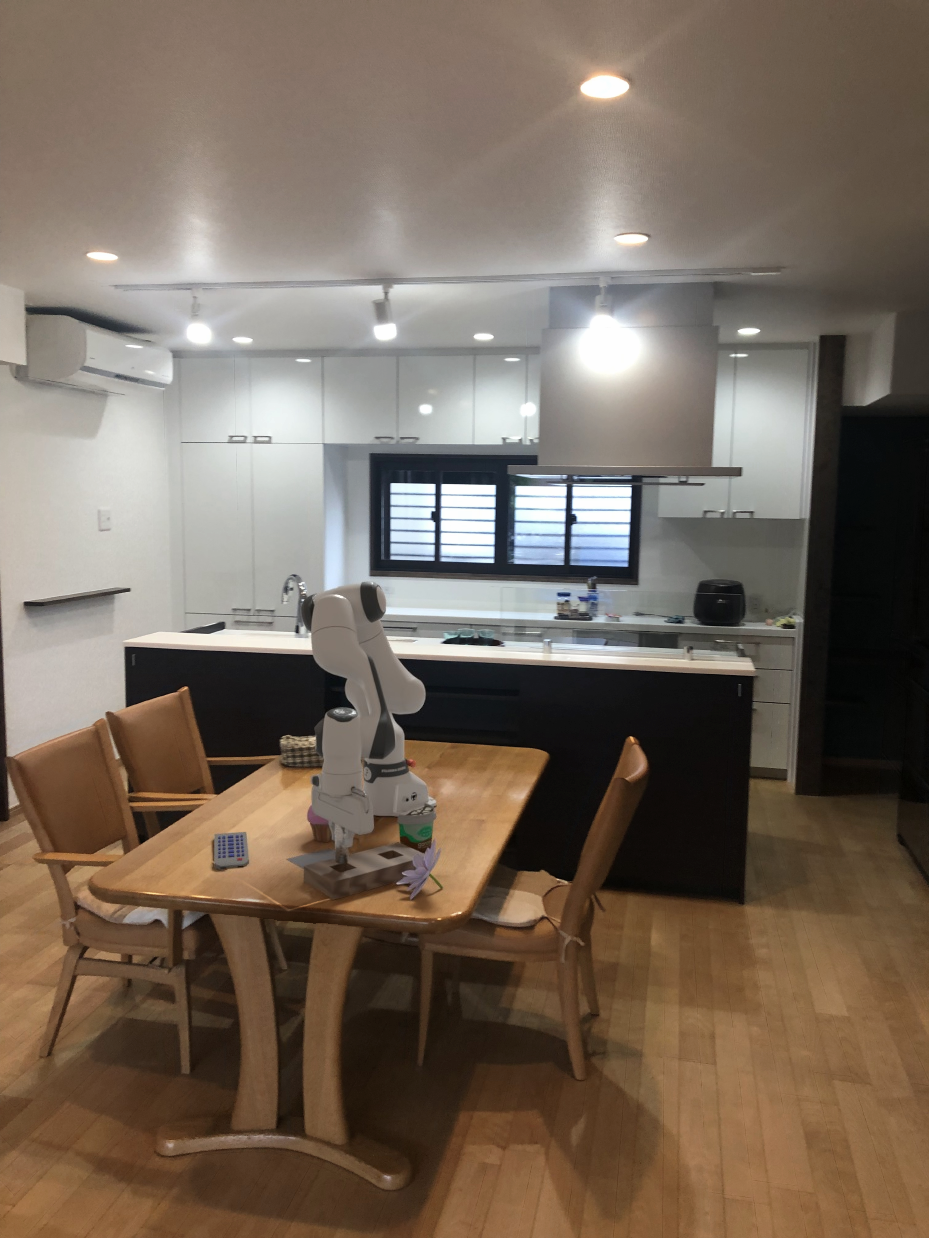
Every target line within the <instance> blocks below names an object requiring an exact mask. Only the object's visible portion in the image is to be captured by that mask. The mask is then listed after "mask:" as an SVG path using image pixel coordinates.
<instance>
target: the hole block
mask: <svg viewBox="0 0 929 1238" xmlns="http://www.w3.org/2000/svg"><path fill="white" fill-rule="evenodd" d="M416 854H419V855H421V856H422V858H423V859H424V855H425V853H421V852H419V851H417V850H415V849H412V848H410V847H408V846H406V845H403V844H401V843H400V841H398V842H393V843H388V844H386V845H385V844H384V845H381V846H377V847H373V848H370V849H365V850H362V851H357V852H354V853H350V854H349V861H348V862H347V863H343V864H339V863H336V862H335V858H334V859H330V860H326V861H322V862H318V863H314V864H310V865H306V866H304V869H303V883H305V884H307V885H308V886H311V887H312V888H313V889H315V890H317V891H318V892H320V893H322V894H324V895H325V896H327V897H328V899H330V900H331V901H334V900H337V899H342V898H345V897H348V896H353V895H355V894H359V893H363V892H365V891H370V890H373V889H377V888H380V887H383V886H386V885H390V884H393V883H397V882H399V881H400V880H402V879H404V877H407V876H406V875H404V874H402V872H404V871H408V870H416V869H417V868H416V867H415V866H414V864H413V856H415V855H416Z"/></svg>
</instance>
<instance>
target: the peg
mask: <svg viewBox="0 0 929 1238" xmlns="http://www.w3.org/2000/svg"><path fill="white" fill-rule="evenodd" d="M345 835H346V832H345V828H344V827H341V826H339V825H337V824H335V841H334V851H335V862H336V863H339V864H343V863H347V862H348V861H349V848H350V847H345V846H344V845H343V844H342V843H343V841H342V838H345Z"/></svg>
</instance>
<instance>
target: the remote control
mask: <svg viewBox="0 0 929 1238" xmlns="http://www.w3.org/2000/svg"><path fill="white" fill-rule="evenodd" d="M247 834H248V833H247V831H238V832H237V831H236V832H224V833H214V837H213V839H214V845H213V846H214V847H213V849H214V850H213V851H214V852H213V854H214V855H213V859H214V860H213V861H214V862H213V865H214V869H215V870H217V869H218V871H227V870H228V869H233V868H234V869H235V868H238V867H247V866H248V865H249V864H250V857H249V855H250V854H249V845H248V837H247Z"/></svg>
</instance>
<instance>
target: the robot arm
mask: <svg viewBox="0 0 929 1238" xmlns="http://www.w3.org/2000/svg"><path fill="white" fill-rule="evenodd" d="M386 611H387V600H386V595H385V592H384V591H383V588H382V587H381V586H380V584H378V583H376V582H375V581H362V582H361V583H360V582H359V583H352V584H344V585H340V586H337V587H334V588H331V589H327V590H325V591H322V592H319V593H316V592H315V593H313V594H310V595H308V596H307V597H306V598H304V600H303V601H302V603H301V607H300V613H301V619H302V622H303V624H304V627H305V628H306V630H307V631H309V632H310V636H311V637H310V642H311V650H312V656H313V659H314V661H315V663H316V664H317V665H318V666H319V667H320V668H321V669H323V670H324V671H325V672H327V673H330V674H332V675H335V676H338V677H342V678H345V679H346V682H345V686H344V692H345V696H346V698H347V700H348V701H349V702H350V704H352V706H353V707H354V709H353V708H350V707H334V708H332V709H330V710H328V711H327V712H326V713H325V715H324V718H322V719H321V720H320V721H319V722H317V724H316V725H315V726H314V734H315V744H314V752H315V753H316V754H317V755H318V756H319V757H320V758H322V759H323V763H322V769H321V770H322V771H321V773H317V774H316V773H315V774H312V775H311V776H310V784H311V785H312V787H311V790H310V791H311V805H312V809H313V812H314V814H316V815H318V816H320V817H322V818H324V819H327V820H329V827H330V830H331V833H332V840H331V841H334V842H335V824H337V825H339V826H341V827H344V828H345V832H346V835H345V838H342V841H343V843H342V844H343V845H344V846H345V847H349V848H351V847H353V844H354V841H353V840H354V838H355V835H356V834H357V835H360V836H363V835H366V834H367V835H368V834H370V833H372V832H373V830H374V828H375V821H374V816H378V817H397V818H398V816H399V815H407V814H408V813H410V812H411V811H413V810H418V809H421V808H423V807H424V804H425V803H426V804H430V805H432V806H433V807H436V806H437V804H438V803H437V800H436V799H435V798H433V797H432V796H430V795H429V794H430V793H429V789H428V785H427V784H426V782H425V781H424V780H422V779H421V778H420V777H418V775H415V773H413V772H411V771H410V768H409V767H411V768H412V769H413V768H416V766H417V761H416V760H413V759H411V758H410V759H407V758H405V733H404V730H403V728H402V727H401V726H400V725H399V724H398V723H397V722H396V721H395V718H394V716H393V714H396V715H409V714H415V713H417V712H418V711H420V709H421V708H422V707H423V705H424V703H425V701H426V696H427V695H426V694H427V693H426V688H425V685H424V683H423V682H422V680H420V679H418V678H417V677H415V676H414V675H413V674H412V673H411V672H410V671H408V669H407V668H406V667H405V666H404V665H403V664H402V662H401V661H400V659H398V657H397V656H396V654H395V652H394V651H393V650H392V647H391V644H390V642H389V639H388V637H387V635H386V634H387V633H386V632H385V629H384V627H383V623H382V621H381V619H382V618H383V617H384V616H385V614H386ZM362 759H363V760H362ZM362 761H363V762H362Z"/></svg>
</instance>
